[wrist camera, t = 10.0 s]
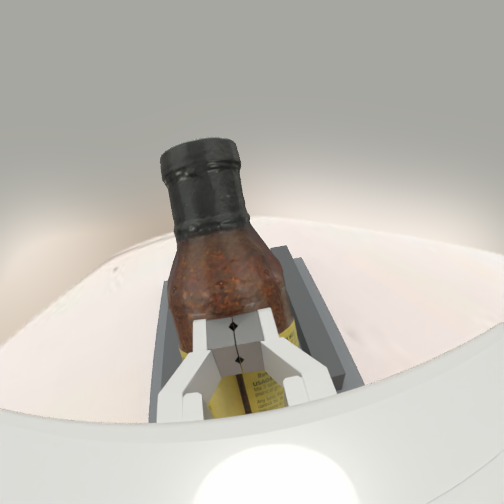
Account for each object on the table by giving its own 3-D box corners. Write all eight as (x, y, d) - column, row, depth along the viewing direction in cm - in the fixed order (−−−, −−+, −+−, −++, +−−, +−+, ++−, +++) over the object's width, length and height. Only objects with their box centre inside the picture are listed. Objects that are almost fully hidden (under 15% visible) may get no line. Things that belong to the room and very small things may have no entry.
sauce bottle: (309, 430, 18) (268, 152, 17) (322, 488, 12) (272, 113, 11) (224, 440, 19) (166, 173, 17) (213, 498, 12) (123, 147, 11)
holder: (301, 260, 37) (300, 240, 36) (364, 389, 21) (371, 370, 19) (165, 284, 36) (158, 265, 35) (150, 427, 19) (135, 412, 18)
